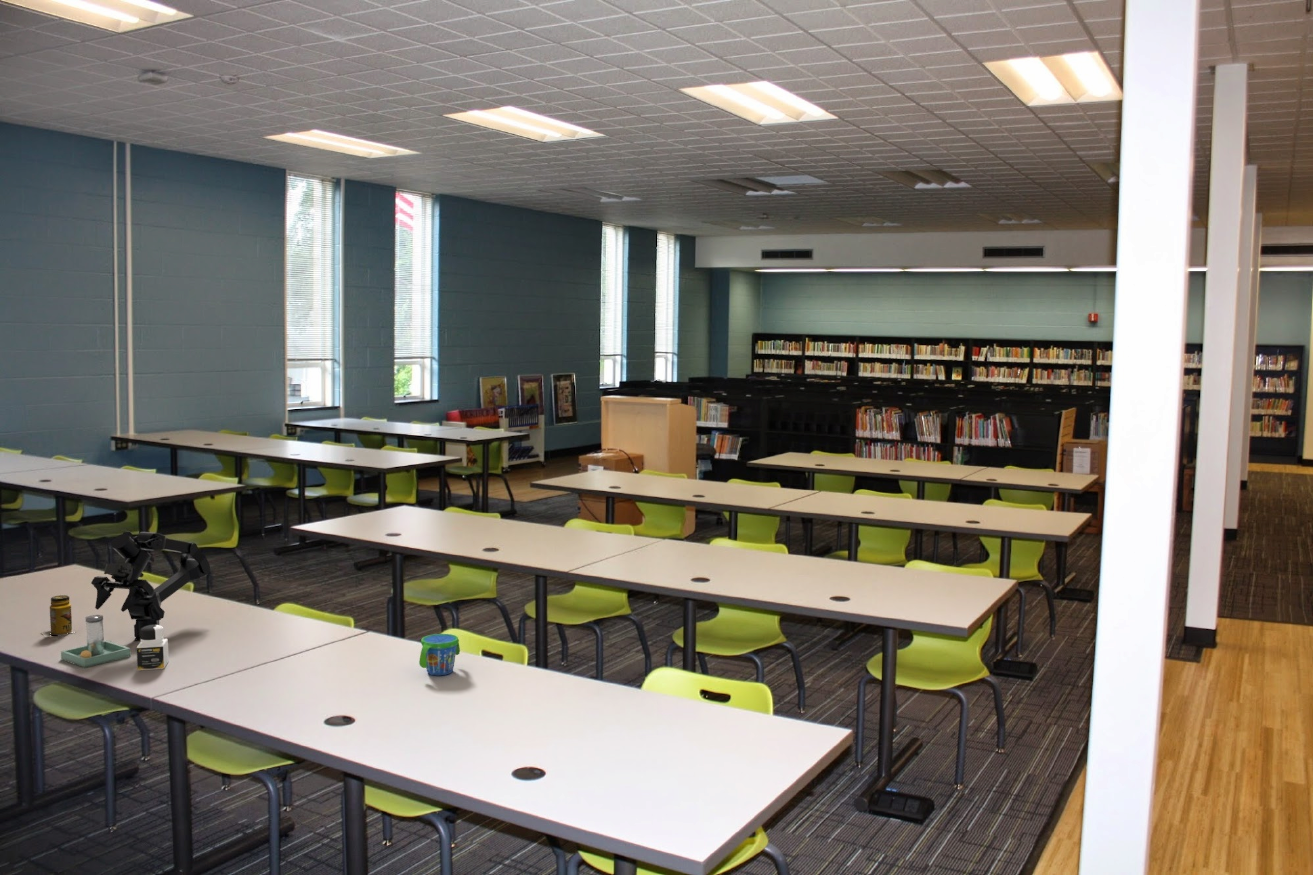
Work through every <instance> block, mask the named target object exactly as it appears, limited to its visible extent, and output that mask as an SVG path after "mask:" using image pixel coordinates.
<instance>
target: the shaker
mask: <svg viewBox="0 0 1313 875" xmlns="http://www.w3.org/2000/svg"><path fill="white" fill-rule="evenodd" d="M85 624H86V626H85V627H86V629H85V630H86V644H87V649H88V651H90V652H91V654H92V656H91V657H93V656H98V655H102V654H104V641H105V640H104V639H105V638H104V615H102V614H94V615H93V614H92V615H87V616H86V617H85Z"/></svg>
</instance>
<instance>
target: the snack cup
mask: <svg viewBox="0 0 1313 875" xmlns="http://www.w3.org/2000/svg"><path fill="white" fill-rule="evenodd" d="M420 643H421V646H422V648H421V650H420V656H419V662H418V663H419V666H420V667H421V668H423V669H426V672H427V673H428V674H429V675H431V676H446V675H449V674H451V673H452V672H454V667H455V662H456V661H455V660H456V656H457V655H460V651H461V647H460V640H459V636H457V635H456V634H452V633H450V634H449V633H434V634H429V635H426V636H425V635H424V636H423V637H422V638H421V640H420Z"/></svg>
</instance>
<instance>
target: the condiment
mask: <svg viewBox="0 0 1313 875" xmlns="http://www.w3.org/2000/svg"><path fill="white" fill-rule="evenodd" d="M70 602H71V601H70V596H69V595H67V594H64V595H61V594H60V595H55V596H52V597H50V606H49V618H50V619H49V620H50V623H49V624H50V630H49V631H41V632H40V633H41V635H43V637H45V638H52V637H54V636H50V635H58V636H66V635H68V634H67V633H71V632H72V630H73V621H72V617H73V616H72V604H71V603H70ZM50 633H51V634H50ZM72 633H73V632H72ZM64 634H65V635H64ZM73 634H76V631H74V633H73ZM58 636H57V637H58Z"/></svg>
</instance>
